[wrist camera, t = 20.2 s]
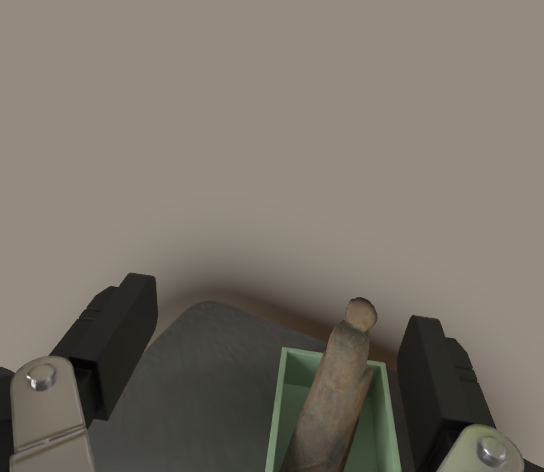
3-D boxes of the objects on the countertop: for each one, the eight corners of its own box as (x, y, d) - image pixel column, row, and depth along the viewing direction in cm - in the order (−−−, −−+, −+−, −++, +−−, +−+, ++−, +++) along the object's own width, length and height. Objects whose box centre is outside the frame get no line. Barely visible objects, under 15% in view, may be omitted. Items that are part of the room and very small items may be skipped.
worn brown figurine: (317, 414, 47) (357, 271, 41) (363, 439, 45) (412, 292, 39) (264, 488, 37) (306, 314, 31) (319, 526, 35) (376, 345, 29)
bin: (256, 537, 34) (261, 501, 31) (277, 380, 48) (282, 346, 45) (392, 562, 34) (410, 528, 31) (374, 396, 47) (385, 362, 45)
